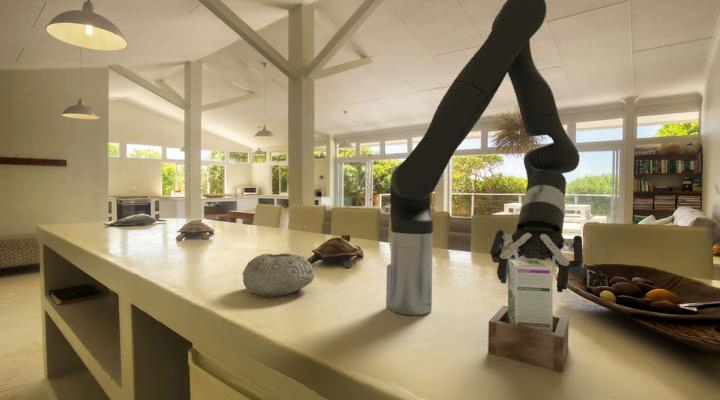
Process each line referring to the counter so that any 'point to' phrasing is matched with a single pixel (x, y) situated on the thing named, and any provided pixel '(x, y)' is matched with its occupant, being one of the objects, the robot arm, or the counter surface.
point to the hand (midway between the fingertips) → (529, 285)
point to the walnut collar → (529, 341)
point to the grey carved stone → (277, 274)
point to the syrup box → (530, 294)
